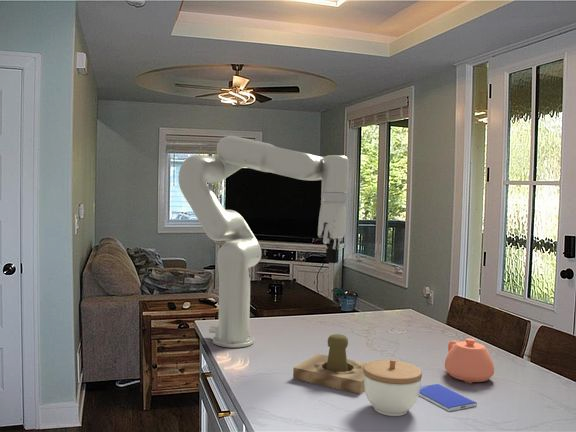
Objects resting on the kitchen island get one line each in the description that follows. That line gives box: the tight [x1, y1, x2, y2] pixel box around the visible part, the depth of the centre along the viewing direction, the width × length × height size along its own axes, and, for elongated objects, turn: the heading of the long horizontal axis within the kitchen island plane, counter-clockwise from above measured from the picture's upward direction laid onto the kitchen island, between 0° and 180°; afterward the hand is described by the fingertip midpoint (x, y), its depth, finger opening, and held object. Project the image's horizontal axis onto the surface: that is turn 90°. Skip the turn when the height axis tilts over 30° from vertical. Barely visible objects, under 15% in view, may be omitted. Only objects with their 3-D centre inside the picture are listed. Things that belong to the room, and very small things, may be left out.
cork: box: [326, 333, 349, 372], centre depth 140 cm, size 6×6×11 cm
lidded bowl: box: [363, 358, 423, 417], centre depth 121 cm, size 13×13×11 cm
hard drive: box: [418, 383, 478, 412], centre depth 128 cm, size 2×8×12 cm
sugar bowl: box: [444, 338, 495, 384], centre depth 144 cm, size 12×14×10 cm
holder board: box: [292, 353, 367, 395], centre depth 140 cm, size 18×14×3 cm
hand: (332, 262), depth 158 cm, fingers closed
